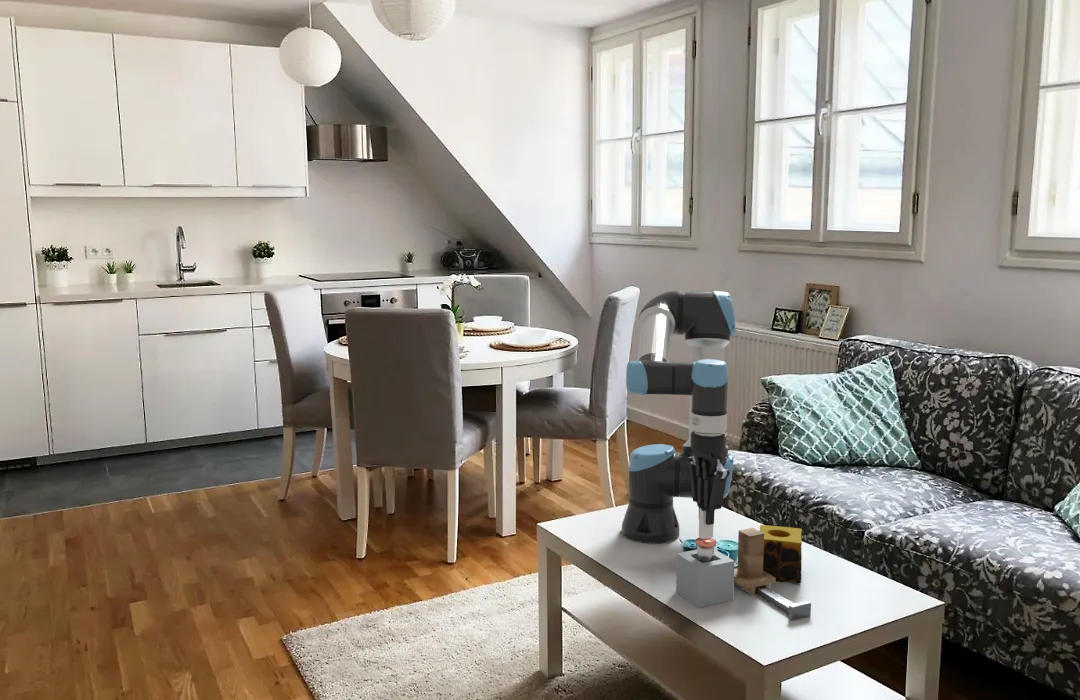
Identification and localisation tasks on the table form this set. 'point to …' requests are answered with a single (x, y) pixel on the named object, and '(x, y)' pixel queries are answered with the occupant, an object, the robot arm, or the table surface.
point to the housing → (705, 578)
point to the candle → (782, 553)
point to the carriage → (751, 561)
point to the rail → (784, 603)
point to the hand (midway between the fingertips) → (705, 536)
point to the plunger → (705, 549)
